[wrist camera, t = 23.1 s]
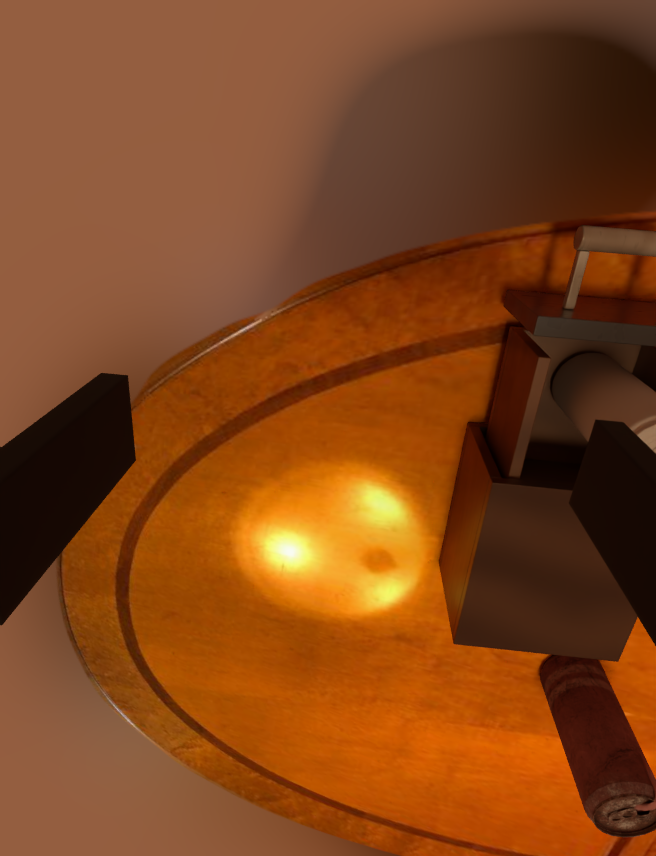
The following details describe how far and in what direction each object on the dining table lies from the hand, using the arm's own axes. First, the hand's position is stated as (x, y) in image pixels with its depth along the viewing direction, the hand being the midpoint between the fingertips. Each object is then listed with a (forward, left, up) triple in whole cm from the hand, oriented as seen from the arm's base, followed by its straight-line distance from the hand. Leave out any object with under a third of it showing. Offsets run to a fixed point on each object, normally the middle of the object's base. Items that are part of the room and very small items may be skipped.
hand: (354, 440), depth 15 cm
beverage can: (+6, +17, -25) cm, 31 cm away
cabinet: (+18, +16, -27) cm, 36 cm away
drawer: (+4, +16, -26) cm, 31 cm away
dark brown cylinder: (+37, +25, -27) cm, 52 cm away
